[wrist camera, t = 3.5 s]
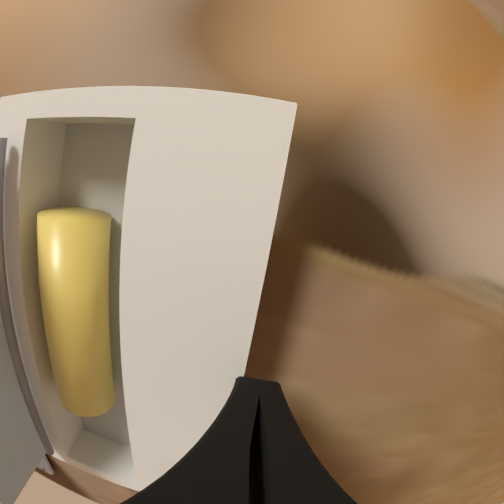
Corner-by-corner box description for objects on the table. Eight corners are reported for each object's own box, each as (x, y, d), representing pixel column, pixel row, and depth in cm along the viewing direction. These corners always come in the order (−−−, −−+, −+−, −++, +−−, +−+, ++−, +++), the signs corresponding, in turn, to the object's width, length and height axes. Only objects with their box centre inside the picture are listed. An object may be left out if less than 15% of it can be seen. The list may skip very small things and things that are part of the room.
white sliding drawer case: (219, 473, 16) (213, 509, 13) (64, 425, 16) (46, 452, 13) (290, 119, 11) (297, 103, 8) (43, 104, 11) (1, 97, 8)
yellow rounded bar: (48, 398, 11) (80, 369, 14) (95, 426, 11) (125, 391, 14) (22, 214, 9) (73, 203, 12) (75, 228, 8) (126, 215, 11)
